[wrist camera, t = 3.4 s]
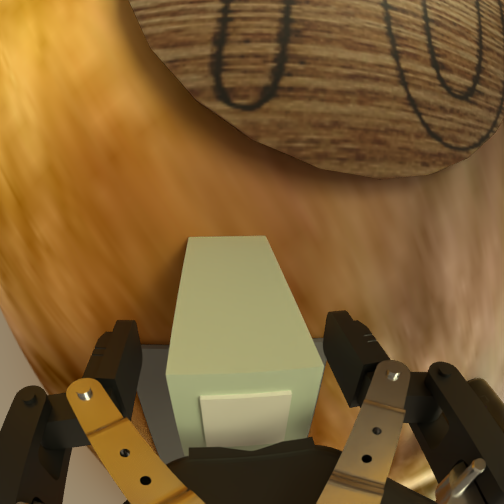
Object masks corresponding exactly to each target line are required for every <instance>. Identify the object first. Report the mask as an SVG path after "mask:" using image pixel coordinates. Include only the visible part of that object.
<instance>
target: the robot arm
mask: <svg viewBox="0 0 504 504" xmlns="http://www.w3.org/2000/svg"><path fill="white" fill-rule="evenodd" d="M323 351H324V355H325V357H326V359H327V361H328V363H329V365H330V367H331V369H332V371H333V373H334V376H335V378H336V380H337V382H338V384H339V386H340V388H341V390H342V392H343V394H344V397H345V399H346V401H347V403H348V405H349V407H350V408H352V407H357V406H360V408H361V409H360V412H359V414H358V417H357V419H356V422H355V424H354V426H353V429H352V431H351V433H350V436H349V438H348V440H347V443H346V445H345V447H344V449H343V451H340V450H337V449H334V448H331V447H327V446H321V445H314V442H313V439H312V437H309V438H303V439H296V440H289V441H282V442H279V443H276V444H273V445H270V446H267V447H264V448H261V449H258V450H254V451H247V450H239V449H231V448H224V447H189V456H185V457H182V458H179V459H176V460H174V461H171V462H169V463H168V464H166V465H165V464H164V462H163V461H162V460H161V459H160V458H159V457H158V455H157V454H156V453H155V452H154V451H153V449H152V448H151V447H150V446H149V445H148V443H147V442H146V441H145V440H144V438H143V437H142V436H141V435H140V433H139V432H138V431H137V429H136V428H135V427H134V425H133V424H132V423H131V417H132V412H133V406H134V401H135V396H136V391H137V386H138V381H139V376H140V372H141V367H142V361H143V355H142V348H141V343H140V339H139V334H138V329H137V324H136V321H135V320H117V321H116V324H115V326H114V329H113V331H112V332H105V333H104V334H103V335H102V336H101V337H100V338H99V339H98V341H97V343H96V346H95V349H94V350H93V353H92V356H91V357H90V360H89V362H88V365H87V367H86V370H85V372H84V375H83V377H82V379H79V380H76V381H74V382H73V383H72V384H71V385H70V386H69V387H68V389H67V391H66V392H65V393H61V394H54V395H47V394H46V392H45V391H44V389H42V388H41V387H39V386H27V387H25V388H23V389H21V390H20V391H19V392H18V393H17V394H16V396H15V398H14V400H13V402H12V404H11V407H10V409H9V411H8V414H7V416H6V419H5V421H4V423H3V426H2V428H1V431H0V504H62V502H63V495H64V489H65V483H66V477H67V471H68V466H69V460H70V455H71V451H72V447H79V446H86V445H92V446H93V448H94V450H95V451H96V453H97V455H98V456H99V458H100V459H101V461H102V463H103V464H104V466H105V467H106V469H107V470H108V472H109V474H110V475H111V477H112V478H113V479H114V481H115V482H116V484H117V485H118V487H119V488H120V490H121V491H122V493H123V494H124V495H125V497H126V498H127V500H126V502H124V503H123V504H504V433H503V432H502V430H501V429H500V427H499V426H498V424H497V423H496V421H495V420H494V418H493V417H492V416H491V414H490V413H489V411H488V410H487V409H486V407H485V406H484V404H483V403H482V402H481V400H480V399H479V397H478V396H477V395H476V393H475V392H474V391H473V389H472V388H471V387H470V385H469V384H468V383H467V381H466V380H465V379H464V377H463V376H462V375H461V373H460V372H459V371H458V370H457V368H456V367H454V366H453V365H451V364H449V363H446V362H435V363H433V364H432V365H431V366H430V368H429V370H428V372H410V370H409V369H408V367H407V366H406V365H404V364H403V363H401V362H399V361H395V360H390V358H389V357H388V355H387V354H386V353H385V351H384V350H383V348H382V347H381V346H380V344H379V343H378V341H376V339H375V337H374V336H373V335H372V333H371V332H370V330H369V329H368V328H367V326H365V325H364V324H362V323H361V322H359V321H358V320H356V321H353V319H352V318H351V316H350V315H349V313H348V312H347V311H346V310H344V311H333V312H329V313H328V314H327V319H326V325H325V331H324V337H323ZM442 411H443V413H444V414H445V416H446V418H447V419H448V422H449V425H448V423H447V422H446V420H445V418H444V417H443V415H442V414H441V413H442ZM403 423H409V425H410V427H411V429H412V431H413V433H414V435H415V437H416V439H417V440H418V442H419V444H420V446H421V449H422V451H423V453H424V455H425V457H426V459H427V461H428V463H429V465H430V467H431V469H432V471H433V473H434V475H435V477H436V479H437V482H438V486H437V488H436V492H435V496H436V502H435V501H433V500H431V499H429V498H427V497H425V496H423V495H421V494H419V493H417V492H415V491H413V490H411V489H409V488H407V487H405V486H403V485H401V484H399V483H397V482H395V481H393V480H392V479H390V478H388V477H387V476H388V473H389V470H390V467H391V464H392V461H393V457H394V454H395V450H396V447H397V443H398V440H399V436H400V432H401V429H402V425H403Z"/></svg>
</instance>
